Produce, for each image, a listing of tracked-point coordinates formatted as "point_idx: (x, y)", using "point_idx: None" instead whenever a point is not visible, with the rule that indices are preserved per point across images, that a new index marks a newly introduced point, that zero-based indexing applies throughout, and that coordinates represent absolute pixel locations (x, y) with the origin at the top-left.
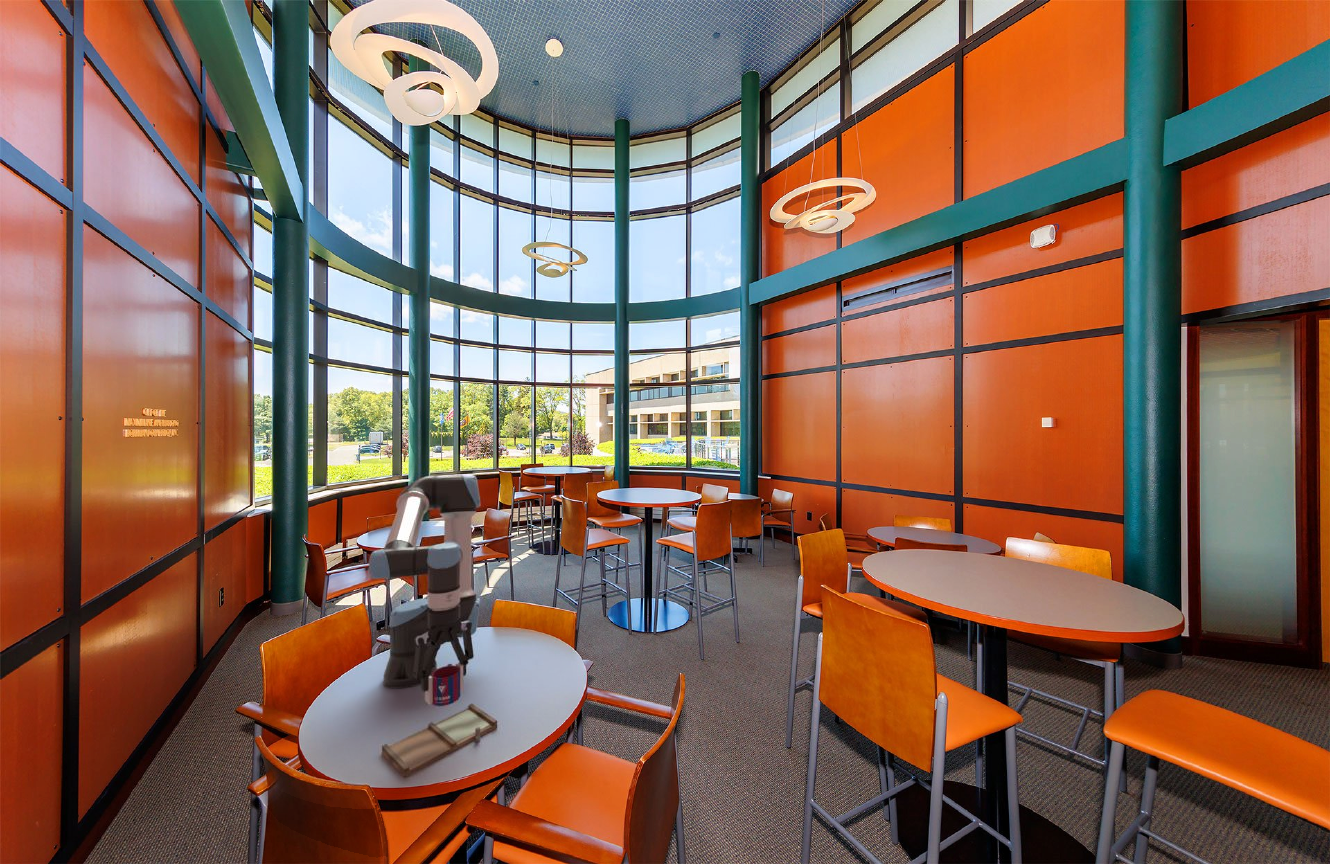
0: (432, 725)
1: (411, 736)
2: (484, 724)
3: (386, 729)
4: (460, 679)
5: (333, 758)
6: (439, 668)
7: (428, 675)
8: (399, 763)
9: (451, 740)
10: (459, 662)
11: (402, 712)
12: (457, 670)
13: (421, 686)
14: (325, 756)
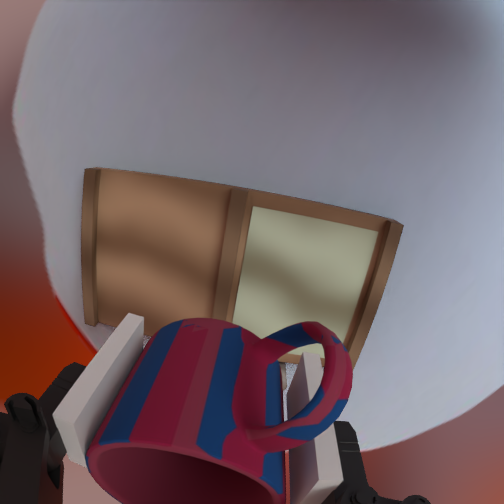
0: (235, 212)
1: (169, 185)
2: None
3: (169, 51)
4: None
5: (39, 81)
6: (176, 449)
7: (56, 470)
8: (83, 293)
9: None
10: (331, 495)
11: (260, 3)
12: (268, 496)
13: (59, 377)
14: (37, 58)
